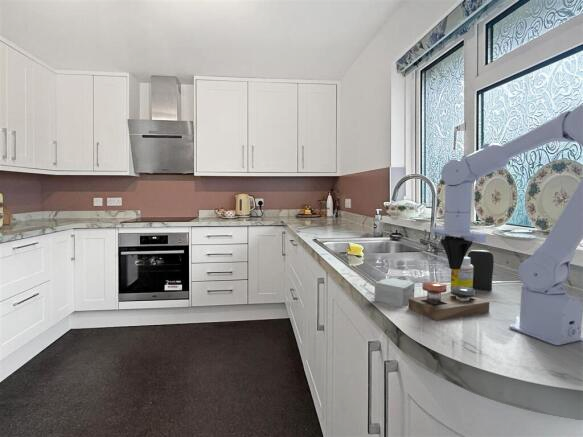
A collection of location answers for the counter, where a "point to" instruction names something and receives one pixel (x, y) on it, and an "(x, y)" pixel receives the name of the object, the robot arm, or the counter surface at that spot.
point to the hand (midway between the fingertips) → (455, 268)
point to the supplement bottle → (463, 274)
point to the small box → (394, 291)
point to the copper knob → (434, 291)
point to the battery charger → (482, 268)
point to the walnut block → (448, 307)
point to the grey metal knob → (462, 293)
